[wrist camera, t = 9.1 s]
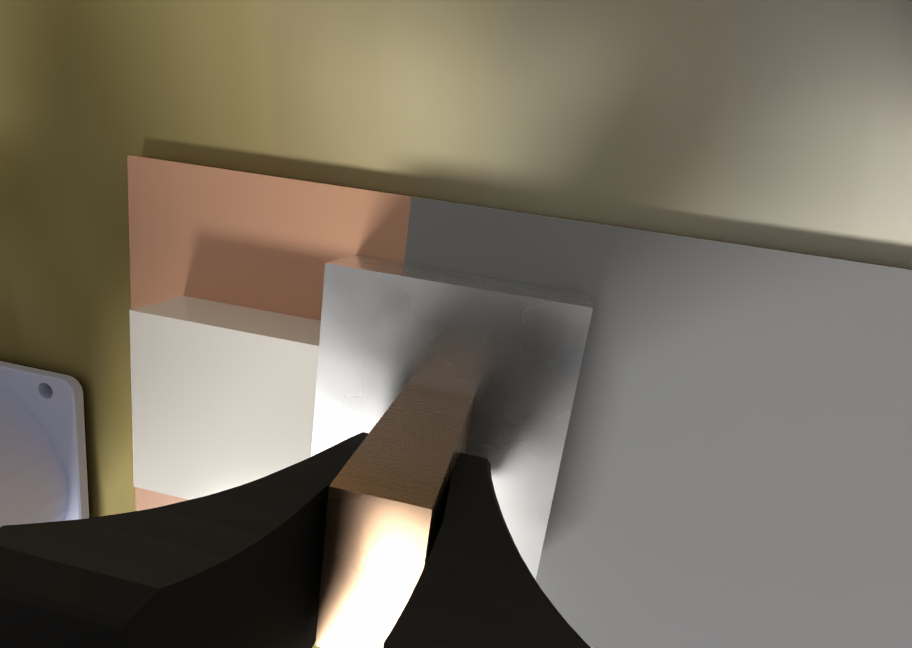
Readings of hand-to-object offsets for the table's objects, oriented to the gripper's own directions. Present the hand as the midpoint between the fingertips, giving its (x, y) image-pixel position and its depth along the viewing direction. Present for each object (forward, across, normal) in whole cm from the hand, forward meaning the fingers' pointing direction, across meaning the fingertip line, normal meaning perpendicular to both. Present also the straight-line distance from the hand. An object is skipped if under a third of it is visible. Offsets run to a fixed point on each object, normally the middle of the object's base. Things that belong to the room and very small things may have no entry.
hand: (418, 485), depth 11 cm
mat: (+4, -2, 0) cm, 4 cm away
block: (+3, +6, 0) cm, 6 cm away
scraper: (+3, 0, 0) cm, 3 cm away
